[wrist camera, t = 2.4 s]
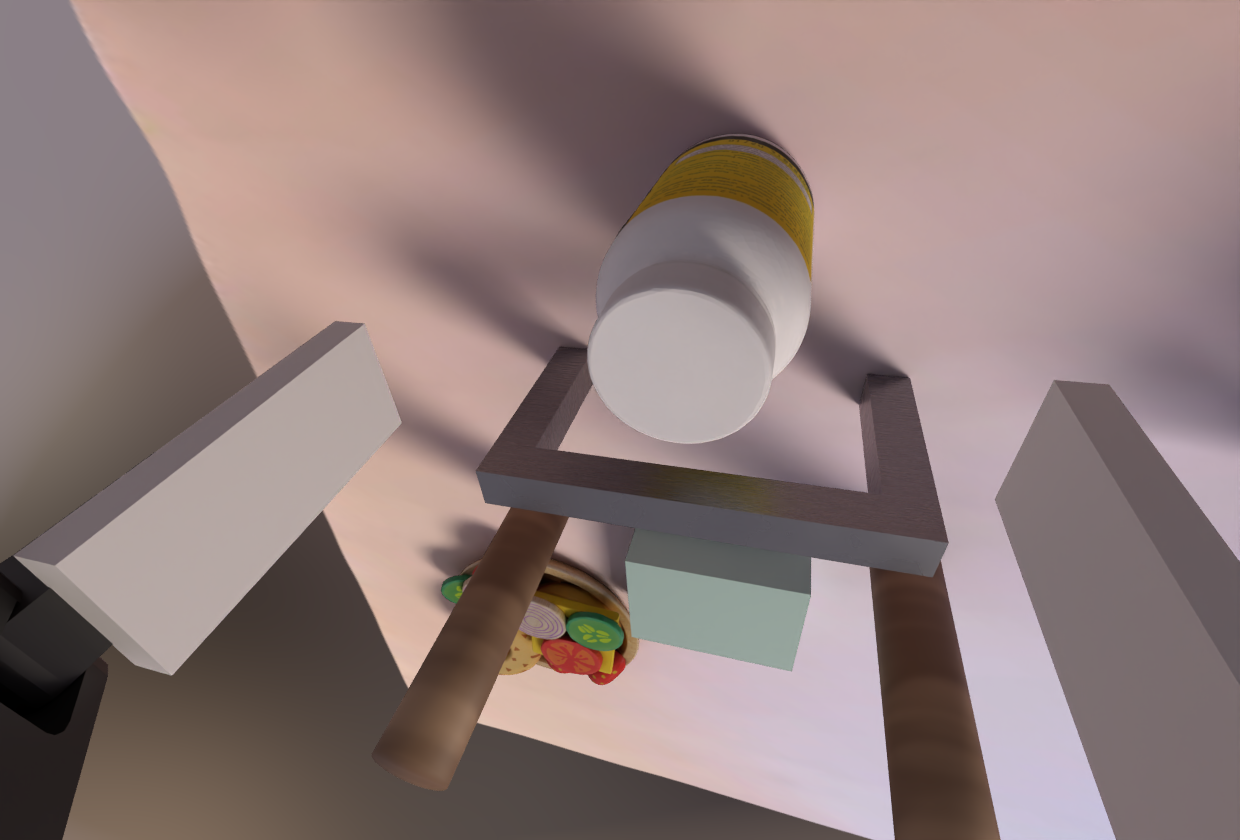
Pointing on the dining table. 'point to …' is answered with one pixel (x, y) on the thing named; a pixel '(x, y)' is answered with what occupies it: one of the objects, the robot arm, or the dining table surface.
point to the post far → (468, 654)
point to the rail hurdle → (728, 483)
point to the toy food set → (566, 625)
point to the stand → (717, 597)
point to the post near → (928, 713)
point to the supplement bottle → (705, 291)
